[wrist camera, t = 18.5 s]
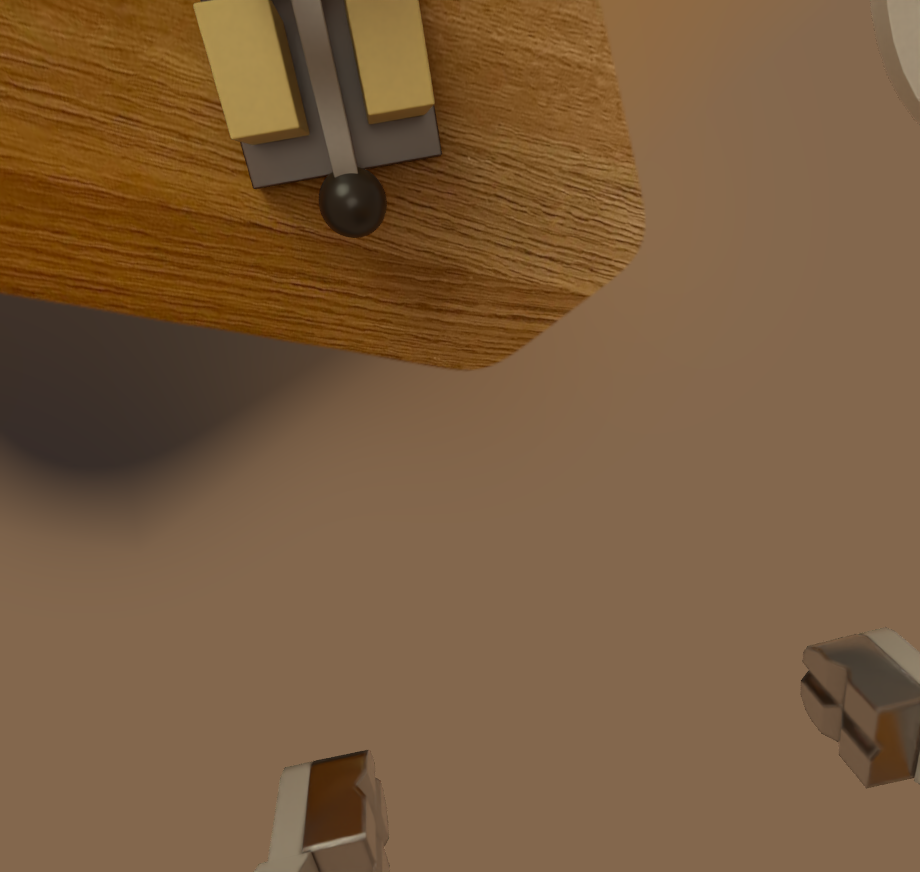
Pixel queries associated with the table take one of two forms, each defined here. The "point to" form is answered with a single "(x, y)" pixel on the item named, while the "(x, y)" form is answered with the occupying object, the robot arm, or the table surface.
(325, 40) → the ball-knob lever switch
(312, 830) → the robot arm
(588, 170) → the table surface
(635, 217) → the table surface
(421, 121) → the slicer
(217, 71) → the butter
